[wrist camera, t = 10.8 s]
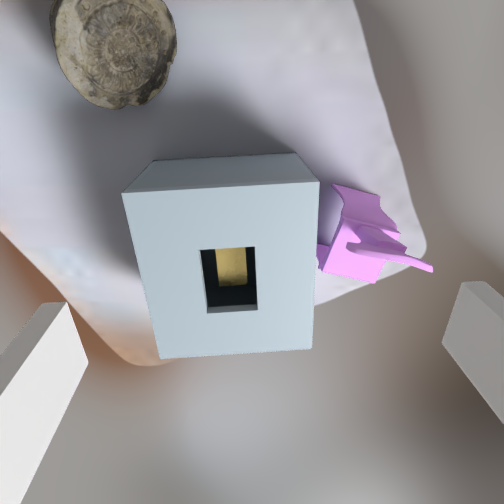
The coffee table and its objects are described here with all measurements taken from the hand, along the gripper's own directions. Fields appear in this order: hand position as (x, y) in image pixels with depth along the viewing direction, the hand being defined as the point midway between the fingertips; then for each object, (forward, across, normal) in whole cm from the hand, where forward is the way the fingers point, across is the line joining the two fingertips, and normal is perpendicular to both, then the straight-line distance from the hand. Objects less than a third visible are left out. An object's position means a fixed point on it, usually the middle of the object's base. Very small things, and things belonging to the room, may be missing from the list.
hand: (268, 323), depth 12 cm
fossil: (+30, -11, +10) cm, 34 cm away
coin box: (+29, -2, -10) cm, 31 cm away
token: (+29, -2, -10) cm, 30 cm away
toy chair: (+29, +12, -10) cm, 33 cm away
